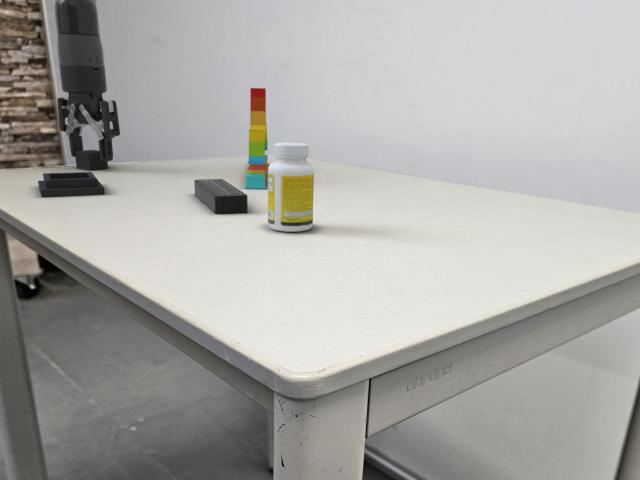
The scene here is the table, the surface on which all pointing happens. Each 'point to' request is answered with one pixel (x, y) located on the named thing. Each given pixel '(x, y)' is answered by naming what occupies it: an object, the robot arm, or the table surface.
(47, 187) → the base pad
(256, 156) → the chart
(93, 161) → the small pad
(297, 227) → the supplement bottle
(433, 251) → the table surface
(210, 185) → the multiport hub
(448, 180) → the table surface
